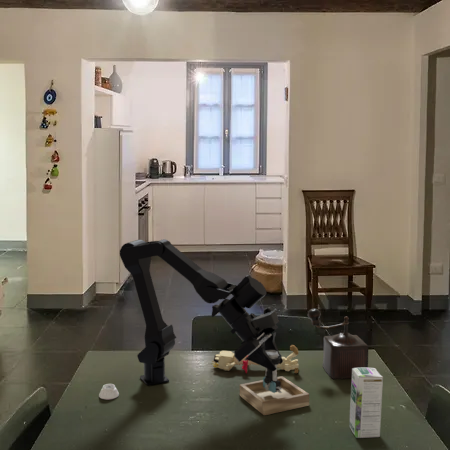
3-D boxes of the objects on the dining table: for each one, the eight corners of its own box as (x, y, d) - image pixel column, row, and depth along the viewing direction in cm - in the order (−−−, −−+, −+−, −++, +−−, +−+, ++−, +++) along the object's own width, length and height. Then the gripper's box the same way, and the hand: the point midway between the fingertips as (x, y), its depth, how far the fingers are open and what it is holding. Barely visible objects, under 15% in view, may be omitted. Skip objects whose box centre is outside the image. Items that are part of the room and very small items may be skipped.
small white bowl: (122, 396, 161) (111, 391, 165) (122, 385, 161) (111, 380, 164) (106, 402, 158) (95, 396, 161) (106, 391, 157) (95, 385, 161)
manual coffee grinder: (355, 363, 184) (357, 305, 182) (368, 378, 174) (370, 315, 171) (304, 366, 182) (305, 307, 180) (314, 380, 171) (316, 318, 169)
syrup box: (348, 426, 144) (350, 367, 142) (373, 425, 145) (375, 366, 143) (355, 438, 139) (357, 376, 136) (381, 437, 139) (383, 376, 137)
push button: (289, 392, 157) (289, 354, 155) (272, 397, 154) (272, 359, 152) (272, 383, 162) (272, 346, 161) (256, 388, 160) (256, 351, 158)
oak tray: (239, 395, 162) (239, 384, 161) (282, 386, 167) (282, 376, 167) (264, 415, 150) (264, 403, 150) (309, 405, 156) (309, 394, 155)
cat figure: (296, 368, 184) (212, 359, 186) (299, 340, 183) (215, 331, 184) (297, 381, 174) (209, 372, 176) (300, 352, 173) (212, 342, 175)
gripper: (247, 309, 148) (290, 360, 145) (271, 291, 165) (310, 337, 162) (216, 336, 152) (257, 386, 149) (243, 316, 169) (281, 361, 167)
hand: (278, 366), depth 157 cm, fingers closed on push button, 5 cm apart
